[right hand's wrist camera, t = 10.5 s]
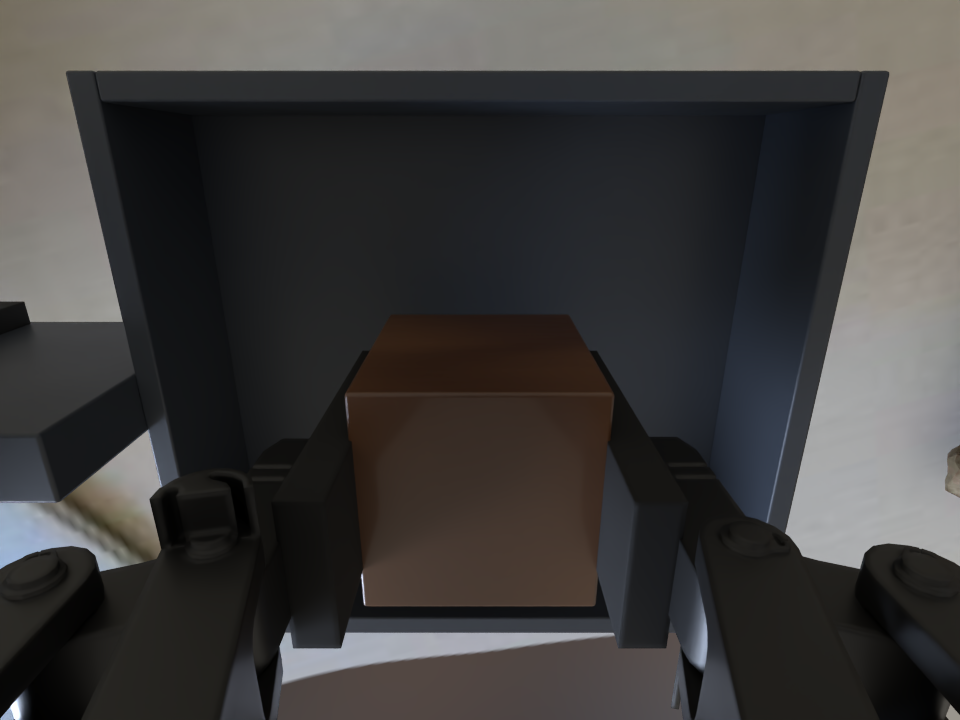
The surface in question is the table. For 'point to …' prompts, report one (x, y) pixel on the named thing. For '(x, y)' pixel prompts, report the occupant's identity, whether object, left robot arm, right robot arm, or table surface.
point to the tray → (448, 262)
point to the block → (479, 461)
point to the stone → (953, 472)
